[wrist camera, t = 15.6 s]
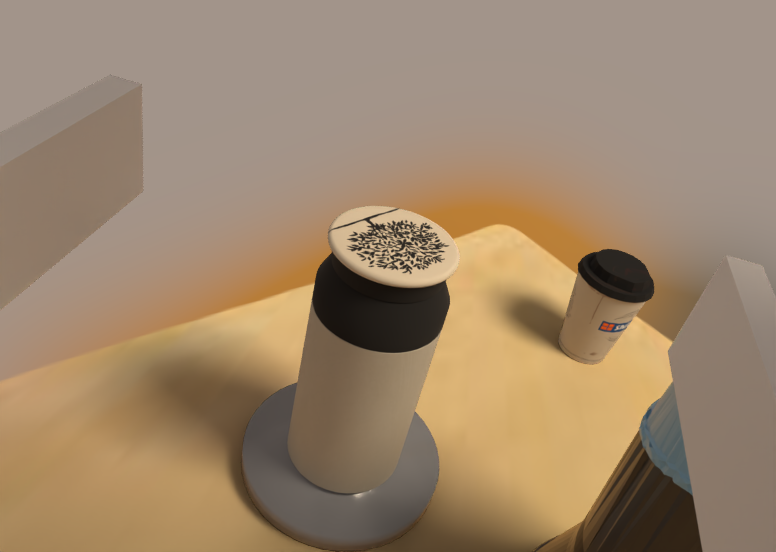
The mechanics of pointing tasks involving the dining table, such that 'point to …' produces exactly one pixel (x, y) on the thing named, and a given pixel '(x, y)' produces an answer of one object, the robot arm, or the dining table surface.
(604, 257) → the coffee cup
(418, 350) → the travel mug
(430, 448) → the charcoal plate
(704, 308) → the robot arm
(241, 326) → the dining table surface
